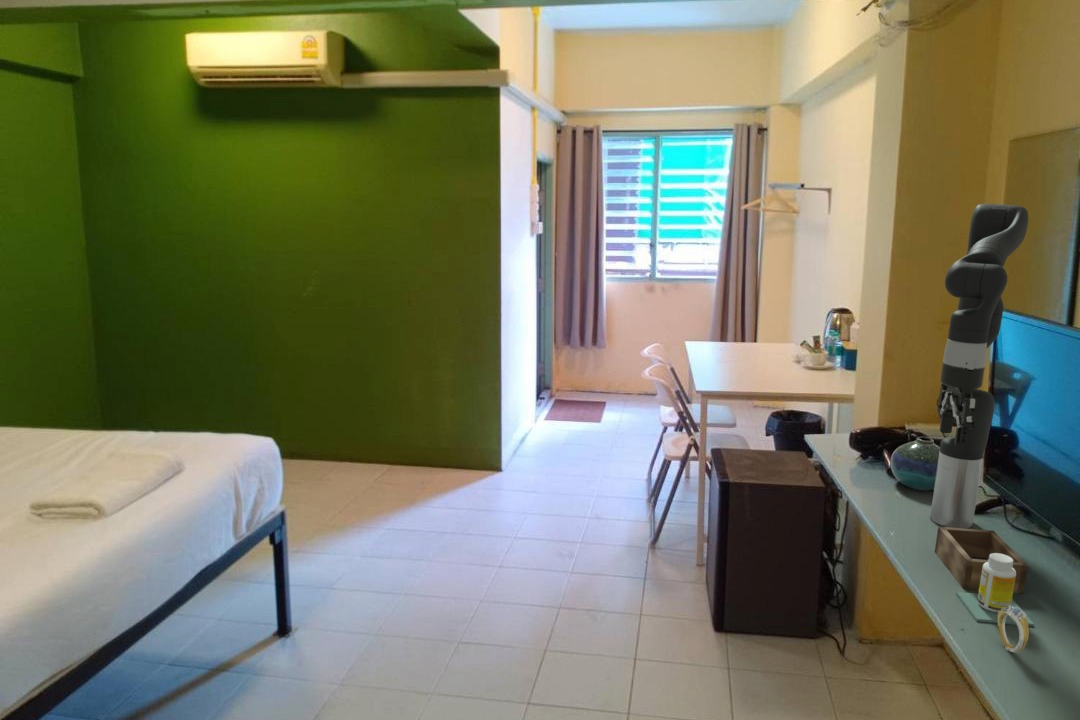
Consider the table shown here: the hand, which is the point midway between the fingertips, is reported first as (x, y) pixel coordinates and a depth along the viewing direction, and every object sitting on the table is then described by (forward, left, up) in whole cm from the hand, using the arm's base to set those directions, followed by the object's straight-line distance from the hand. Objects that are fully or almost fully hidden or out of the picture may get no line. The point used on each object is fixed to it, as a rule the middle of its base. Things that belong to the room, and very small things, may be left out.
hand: (952, 439), depth 163 cm
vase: (-43, -24, -28) cm, 57 cm away
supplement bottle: (+10, +16, -28) cm, 33 cm away
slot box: (-4, +7, -28) cm, 29 cm away
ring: (+22, +23, -28) cm, 43 cm away
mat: (+10, +16, -28) cm, 34 cm away
